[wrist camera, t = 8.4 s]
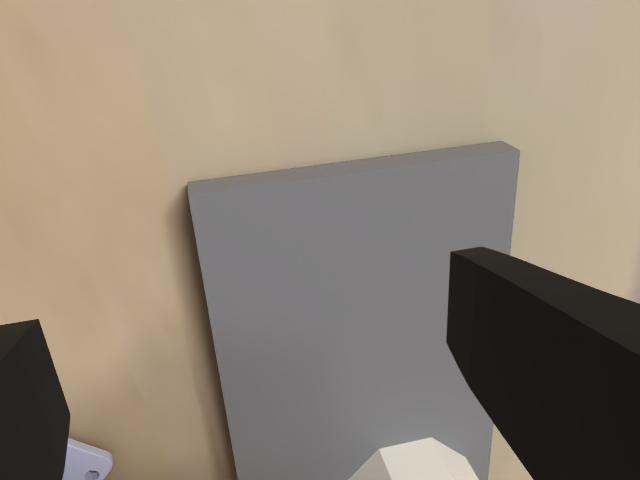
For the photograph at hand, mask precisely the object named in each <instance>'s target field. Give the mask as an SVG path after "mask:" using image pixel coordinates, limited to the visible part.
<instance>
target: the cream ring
mask: <svg viewBox="0 0 640 480" xmlns="http://www.w3.org/2000/svg"><path fill="white" fill-rule="evenodd" d="M348 480H479V479H478V477H477V476H476V474H475V472H474V471H473V469H472V467H471V465H470V464H469V462H468V460H467V459H466V457H464V456H463V455H461V454H459V453H457V452H456V451H454V450H452V449H451V448H449V447H447V446H446V445H444V444H442V443H440V442H439V441H437V440H435V439H434V438H432V437H430V438H426V439H421V440H417V441H412V442H408V443H403V444H399V445H394V446H390V447H385V448H381V449H378V450H377V451H376V452H375V453H374V454H373V455H372V456H371V457H370V458H369V459H368V460H367V461H366V462H365V463H364V464H363V465H362V466H361V467H360V468H359V469H358V470H357V471H356V472H355V473H354V474H353V475H352V476H351V477H350V478H349V479H348Z"/></svg>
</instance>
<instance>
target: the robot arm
mask: <svg viewBox="0 0 640 480" xmlns="http://www.w3.org/2000/svg"><path fill="white" fill-rule="evenodd" d="M446 343H447V345H448V347H449V349H450V351H451V353H452V355H453V357H454V359H455V361H456V363H457V365H458V367H459V369H460V371H461V373H462V375H463V377H464V379H465V381H466V383H467V384H468V386H469V388H470V389H471V391H472V392H473V394H474V395H475V397H476V398H477V400H478V401H479V403H480V404H481V405H482V407H483V408H484V410H485V411H486V413H487V414H488V416H489V417H490V419H491V420H492V421H493V423H494V424H495V426H496V427H497V428H498V430H499V431H500V433H501V434H502V436H503V437H504V438H505V440H506V441H507V443H508V444H509V445H510V447H511V448H512V450H513V451H514V453H515V454H516V455H517V457H518V458H519V460H520V461H521V463H522V464H523V465H524V467H525V468H526V470H527V471H528V472H529V474H530V475H531V477H532V478H533V480H640V304H639V303H636V302H633V301H630V300H627V299H624V298H621V297H618V296H615V295H612V294H609V293H606V292H604V291H601V290H598V289H595V288H593V287H590V286H587V285H585V284H582V283H579V282H577V281H574V280H572V279H569V278H566V277H564V276H561V275H559V274H556V273H554V272H551V271H549V270H546V269H543V268H541V267H538V266H536V265H533V264H531V263H528V262H526V261H523V260H520V259H518V258H515V257H512V256H510V255H507V254H504V253H501V252H498V251H495V250H492V249H489V248H485V247H475V248H469V249H463V250H457V251H451V252H450V271H449V293H448V314H447V336H446ZM69 424H70V412H69V409H68V406H67V403H66V400H65V397H64V394H63V391H62V388H61V385H60V382H59V379H58V376H57V373H56V370H55V367H54V364H53V361H52V358H51V355H50V352H49V349H48V346H47V343H46V340H45V337H44V334H43V331H42V328H41V325H40V322H39V319H36V320H30V321H24V322H18V323H11V324H5V325H0V480H104V479H105V477H106V476H107V475H108V473H109V472H110V471H111V469H112V466H113V456H112V454H111V453H109V452H108V451H105V450H102V449H99V448H96V447H94V446H91V445H88V444H85V443H82V442H79V441H76V440H73V439H70V438H68V435H69ZM89 471H97V472H95V473H91V472H89Z"/></svg>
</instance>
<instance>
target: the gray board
mask: <svg viewBox="0 0 640 480" xmlns="http://www.w3.org/2000/svg"><path fill="white" fill-rule="evenodd" d="M519 157H520V150H518V149H516V148H515V147H513V146H511V145H509V144H507V143H505V142H503V141H498V142H490V143H483V144H475V145H467V146H460V147H452V148H445V149H437V150H429V151H422V152H414V153H406V154H399V155H391V156H383V157H376V158H368V159H361V160H353V161H345V162H338V163H330V164H322V165H315V166H307V167H300V168H292V169H284V170H277V171H269V172H261V173H254V174H246V175H238V176H231V177H223V178H216V179H208V180H200V181H193V182H187V184H188V198H189V204H190V210H191V215H192V221H193V227H194V232H195V238H196V244H197V250H198V255H199V261H200V267H201V272H202V278H203V284H204V290H205V295H206V301H207V307H208V312H209V318H210V324H211V330H212V335H213V341H214V347H215V353H216V358H217V364H218V370H219V375H220V381H221V387H222V393H223V398H224V404H225V410H226V415H227V421H228V427H229V433H230V438H231V444H232V450H233V455H234V461H235V467H236V473H237V478H238V480H348V479H349V478H350V477H351V476H352V475H353V474H354V473H355V472H356V471H357V470H358V469H359V468H360V467H361V466H362V465H363V464H364V463H365V462H366V461H367V460H368V459H369V458H370V457H371V456H372V455H373V454H374V453H375V452H376V451H377V450H378V449H381V448H385V447H390V446H394V445H399V444H403V443H408V442H412V441H417V440H421V439H426V438H430V437H432V438H434V439H435V440H437V441H439V442H440V443H442V444H444V445H446V446H447V447H449V448H451V449H452V450H454V451H456V452H457V453H459V454H461V455H463V456H464V457H466V459H467V460H468V462H469V464H470V465H471V467H472V469H473V471H474V472H475V474H476V476H477V477H478V479H479V480H488V473H489V463H490V452H491V442H492V432H493V421H492V420H491V419H490V417H489V416H488V414H487V413H486V411H485V410H484V408H483V407H482V405H481V404H480V403H479V401H478V400H477V398H476V397H475V395H474V394H473V392H472V391H471V389H470V388H469V386H468V384H467V383H466V381H465V379H464V377H463V375H462V373H461V371H460V369H459V367H458V365H457V363H456V361H455V359H454V357H453V355H452V353H451V351H450V349H449V347H448V345H447V343H446V336H447V314H448V293H449V271H450V252H451V251H457V250H463V249H469V248H475V247H485V248H489V249H492V250H495V251H498V252H501V253H504V254H507V255H510V249H511V239H512V229H513V218H514V208H515V198H516V188H517V178H518V168H519Z"/></svg>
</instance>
